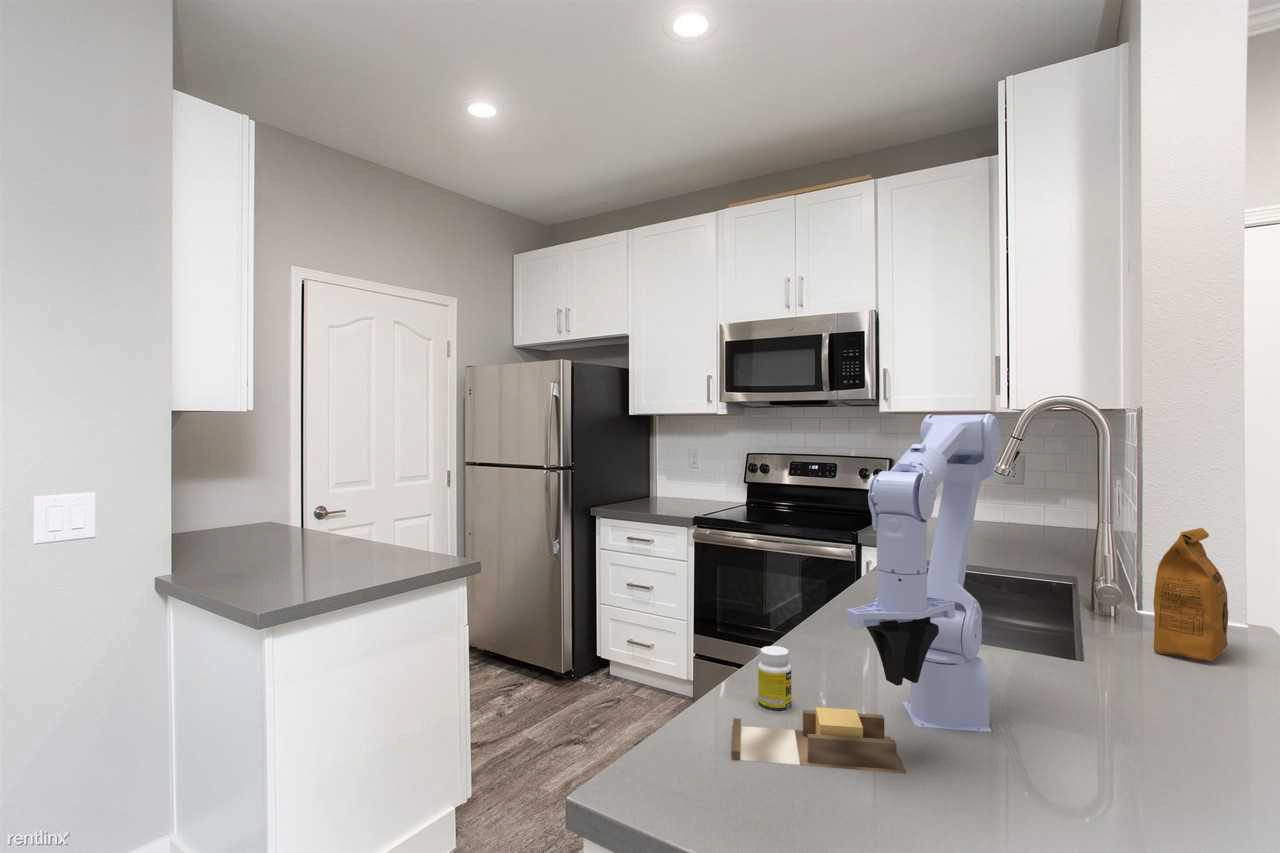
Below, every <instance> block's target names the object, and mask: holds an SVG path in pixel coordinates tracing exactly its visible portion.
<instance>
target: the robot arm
mask: <svg viewBox="0 0 1280 853" xmlns="http://www.w3.org/2000/svg"><path fill="white" fill-rule="evenodd" d="M919 431H920V432H919V436H920V437H919V439H920V440H919V442H920V443H913V444H912V445H911V446H910V447H909V448H908V449H907V450H905V452H904V453H903V455H901V457H900V458H899V459H898V460H897V462H895V464H894V465H893V466H892V467H891V469H890V470H889V471H888V470H882V471H880V472H878V474H875V475H874V476H872V478H871V480H870V483H869V487H868V488H869V489H868V495H867V500H868V507H869V510H870V513H871V524H872V525H871V526H872V529H873V531H875V532H876V598H874V602H871V603H868V604H865V605H861V606H858V607H853V608H848V609H846V625H847V626H849V627H851V628H852V629H855V630H858V631H859V630H863V629H864V628H866V629H867V631H868V632H869V633H868V634H870V636H871V639H872V640H873V642H874V644H875V647H876V648H877V652H878V656H879V658H880V662H881V664H882V667H883V668H882V669H883V671H884V676H885V680H886V681H888V682H889V683H891V684H892V685H895V686H896V687H897V686H902V685H903V681H904V679H905V680H907V681H908V682H910V701H902V705H903V707H904V709H905V711H906V712H907V714H908V716H909V717H910V719H911V721H912V723H913V725H914V726H915V727H917V728H923V729H924V728H925V729H926V728H927V729H937V730H938V729H940V730H942V729H943V730H953V731H954V730H955V731H969V732H981V733H982V732H984V733H989V734H991V733H992V729H991V728H990V681H989V680H990V679H989V674H988V670H987V666H986V663H985V662H984V660H983V659H982V658H981V657H980V656H978V654H979V652H980V649H981V646H982V638H983V627H982V622H983V621H982V619H983V610H982V608H981V606H980V603H979V601H978V600H977V599H976V598H975V597H974V596H973V595H972V594H971V593H970V592H968V591H967V590H966V589H965V588H964V584H965V578H966V571H967V564H968V559H969V551H970V546H971V539H972V532H973V528H974V527H973V526H974V521H975V514H976V508H977V502H978V496H979V492H980V488H981V486H982V482H983V481H984V480H986V479H989V478H991V477H993V476H994V475H995V469H996V468H997V462H998V457H999V449H1000V443H1001V440H1000V425H999V421H998V419H997V418H996V416H995V415H994V414H993V413H986V414H949V415H948V414H947V415H945V414H944V415H938V414H937V415H935V414H931V413H930V414H927V415H926V416H925V417H924V418H923V420H922V422H921V425H920V430H919ZM941 483H942V484H943V486H942V492H941V496H940V497H941V498H940V501H939V502H940V503H939V509H938V513H937V514H938V515H937V520H936V525H935V530H934V531H935V532H934V536H933V542H932V547H931V552H930V558H929V563H928V521H929V519H930V518H932V515H933V513H934V508H935V503H936V502H935V501H936V500H937V497H938V492H937V489H938V487H939V486H940V484H941ZM928 564H929V565H928Z"/></svg>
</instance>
